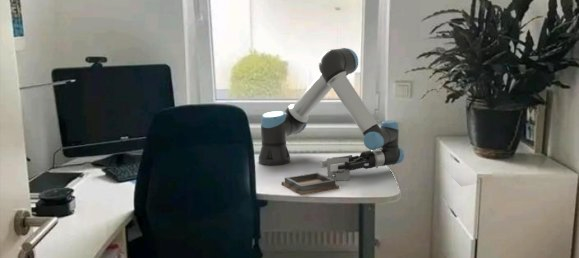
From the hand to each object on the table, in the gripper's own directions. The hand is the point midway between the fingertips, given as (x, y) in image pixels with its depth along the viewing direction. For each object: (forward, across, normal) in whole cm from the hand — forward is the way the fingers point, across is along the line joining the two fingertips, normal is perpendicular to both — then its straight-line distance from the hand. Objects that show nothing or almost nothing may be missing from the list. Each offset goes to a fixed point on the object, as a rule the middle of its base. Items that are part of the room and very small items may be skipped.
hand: (325, 166), depth 232 cm
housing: (+10, -4, -6) cm, 12 cm away
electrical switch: (-5, -1, -6) cm, 8 cm away
